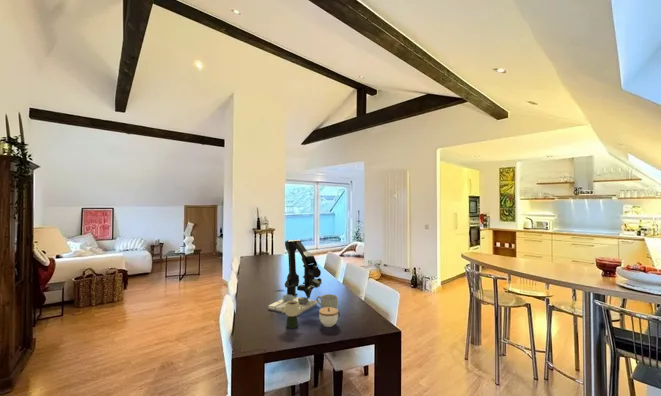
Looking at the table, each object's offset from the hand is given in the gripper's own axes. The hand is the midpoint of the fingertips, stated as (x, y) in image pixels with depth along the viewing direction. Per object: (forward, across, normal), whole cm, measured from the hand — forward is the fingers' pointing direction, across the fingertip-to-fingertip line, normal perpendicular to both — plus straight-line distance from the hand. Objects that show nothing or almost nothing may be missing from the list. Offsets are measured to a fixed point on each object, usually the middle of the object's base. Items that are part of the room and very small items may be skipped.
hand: (308, 298), depth 194 cm
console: (+4, -9, +6) cm, 11 cm away
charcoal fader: (+3, -6, 0) cm, 7 cm away
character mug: (+4, -34, -11) cm, 36 cm away
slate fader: (+3, -6, +12) cm, 14 cm away
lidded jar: (+4, -22, -27) cm, 35 cm away
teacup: (+4, -2, -15) cm, 16 cm away
